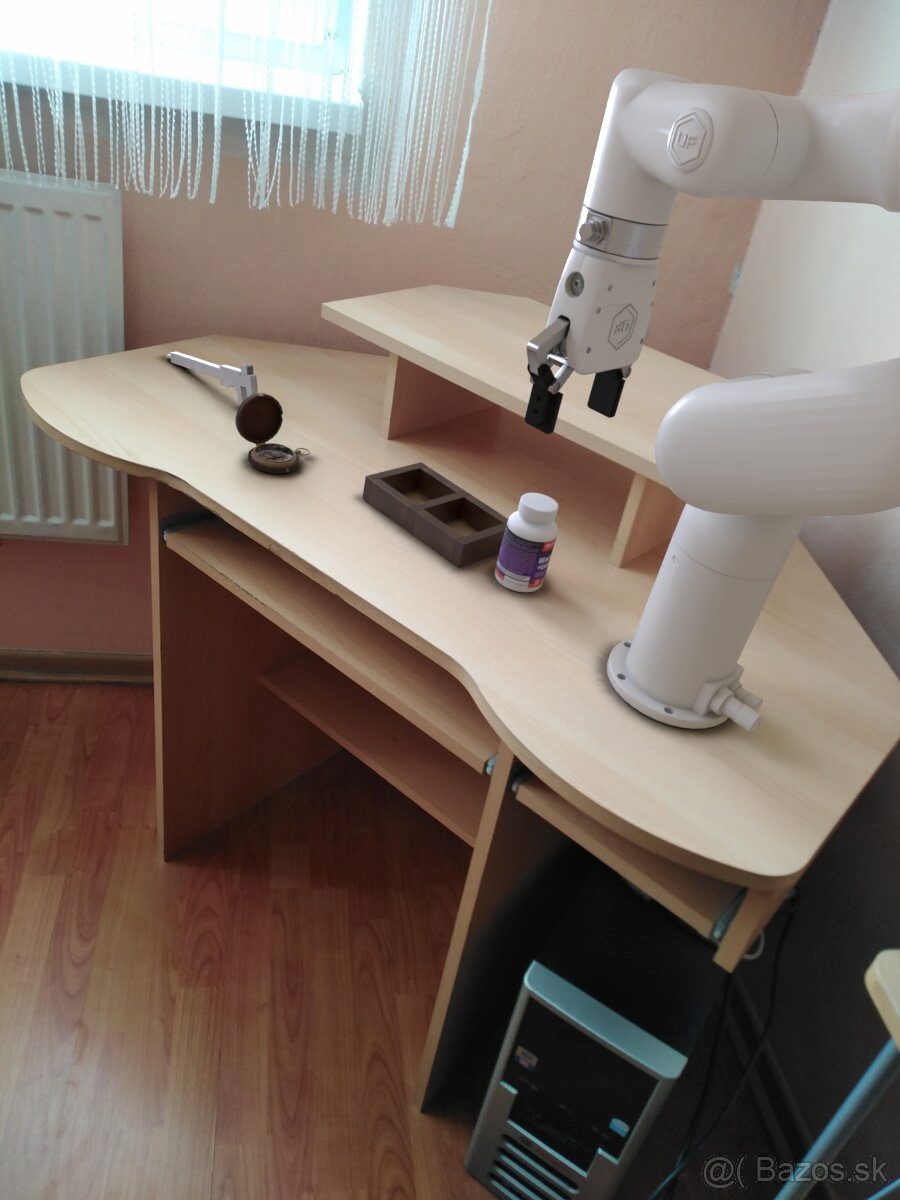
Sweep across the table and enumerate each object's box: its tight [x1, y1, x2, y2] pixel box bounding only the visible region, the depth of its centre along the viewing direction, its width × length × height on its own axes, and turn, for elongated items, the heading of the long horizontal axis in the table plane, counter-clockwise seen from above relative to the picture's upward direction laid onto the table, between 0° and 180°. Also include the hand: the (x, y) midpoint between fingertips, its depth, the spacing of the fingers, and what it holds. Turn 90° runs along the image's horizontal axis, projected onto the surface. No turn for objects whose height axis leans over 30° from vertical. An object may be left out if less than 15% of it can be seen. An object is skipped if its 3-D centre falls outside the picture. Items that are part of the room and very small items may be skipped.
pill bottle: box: [494, 492, 559, 593], centre depth 94 cm, size 5×5×10 cm
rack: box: [362, 461, 509, 569], centre depth 103 cm, size 17×9×3 cm, turn 44°
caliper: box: [165, 351, 259, 406], centre depth 121 cm, size 20×1×6 cm, turn 47°
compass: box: [235, 391, 311, 474], centre depth 107 cm, size 8×8×7 cm
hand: (570, 419), depth 86 cm, fingers open, 9 cm apart
